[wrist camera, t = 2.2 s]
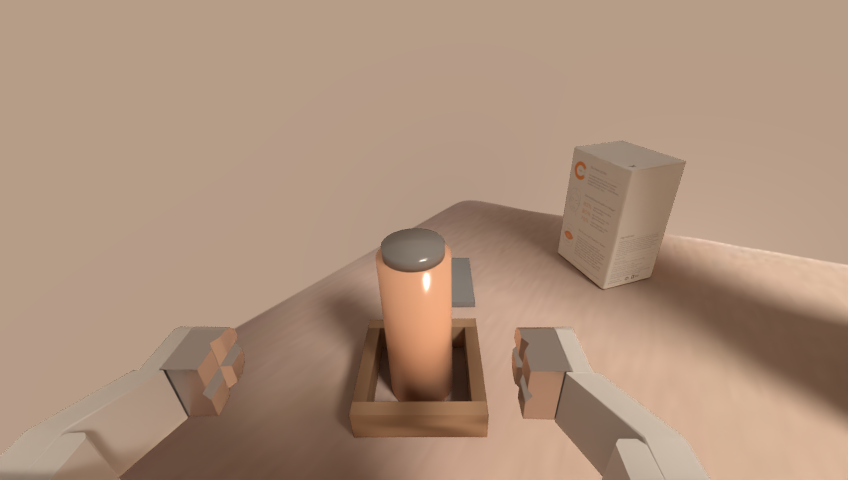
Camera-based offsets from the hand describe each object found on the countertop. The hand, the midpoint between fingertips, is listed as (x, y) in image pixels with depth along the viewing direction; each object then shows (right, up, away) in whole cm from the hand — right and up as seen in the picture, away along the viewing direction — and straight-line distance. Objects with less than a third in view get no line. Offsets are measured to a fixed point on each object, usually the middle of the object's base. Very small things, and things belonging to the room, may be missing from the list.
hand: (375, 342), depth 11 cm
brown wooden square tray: (+1, -8, +19) cm, 21 cm away
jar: (+1, -8, +19) cm, 21 cm away
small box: (+22, 0, +32) cm, 39 cm away
